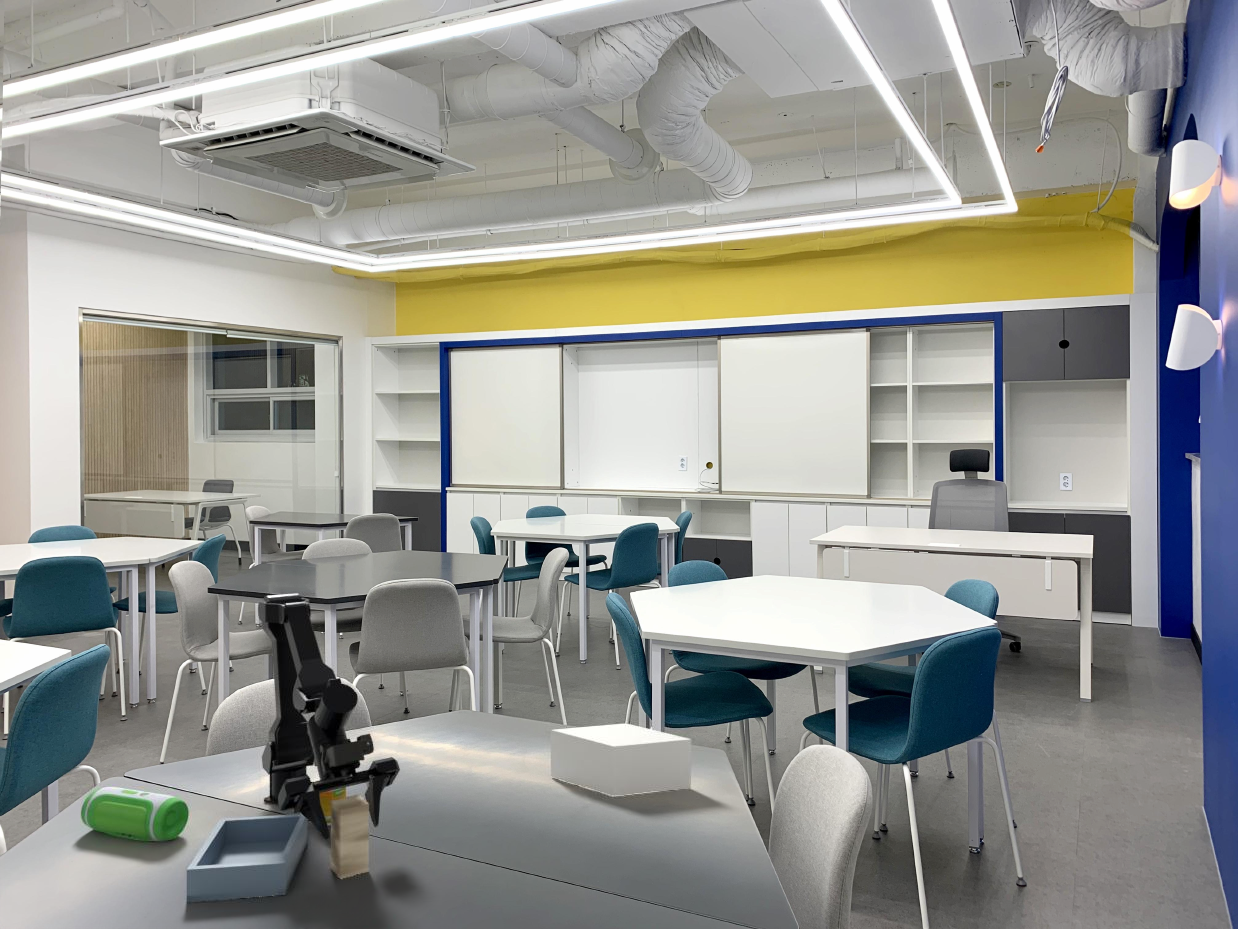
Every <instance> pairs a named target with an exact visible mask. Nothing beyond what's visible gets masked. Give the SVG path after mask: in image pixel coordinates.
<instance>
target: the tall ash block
mask: <svg viewBox="0 0 1238 929" xmlns="http://www.w3.org/2000/svg"><path fill="white" fill-rule="evenodd" d="M369 865H370V812H369V803H368V802H367V801H366V799H364V797H362V796H361V794H355V795H349V796H346V798H341V799H337V800H333V801H331V826H330V869H331V870H332V872H333V873H334V872H335V873H336V874H337V875H336V874H335V873H334V874H335V875H336V876H337V878H340V879H341V880H344V879H343V878H345V879H347V878H346V877H348V878H351V877H355V876H357V875H356V874H358V875H362V874H364V873H369V871H370V866H369ZM361 873H362V874H361ZM354 875H355V876H354ZM350 876H351V877H350ZM340 879H339V880H340Z"/></svg>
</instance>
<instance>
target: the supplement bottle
mask: <svg viewBox="0 0 1238 929" xmlns="http://www.w3.org/2000/svg"><path fill="white" fill-rule="evenodd" d="M319 780H320V778H318V779H317V780H316V781H319ZM319 795H320V803H321V807H322V810H323V813H324V816H325V819H326V822H327V825H328V827H331V801H333V800H337V799H341V798H346V797H347V787H344V788H340V789H335V790H331V791H327V792H322V793H319Z"/></svg>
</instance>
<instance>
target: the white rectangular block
mask: <svg viewBox="0 0 1238 929" xmlns="http://www.w3.org/2000/svg"><path fill="white" fill-rule="evenodd" d="M551 776H552V777H555V778H557V779H561V780H564V781H566V782H570V783H574V784H577V785H581V786H583V787H588V788H591V789H594V790H597V791H600V792H604V793H607V794H610V795H626V794H634V793H643V792H651V791H665V790H675V789H685V790H690V789H689V788H691V787H692V786H691V785H692V780H691V779H692V739H691V738H688V737H684V736H680V735H675V734H673V733H672V734H671V733H667V732H663V731H658V730H655V729H652V728H651V729H650V728H646V727H642V726H639V725H635V724H630V723H617V724H616V723H615V724H604V725H593V726H581V727H572V728H571V727H569V728H559V729H558V728H557V729H551V730H550V777H551Z"/></svg>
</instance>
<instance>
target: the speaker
mask: <svg viewBox="0 0 1238 929" xmlns="http://www.w3.org/2000/svg"><path fill="white" fill-rule="evenodd" d="M189 811H190V810H189V807H188V805H187V803H186V802H185V801H184V800H183V799H180V798H178V797H176V796H174V795H169V794H163V793H158V792H157V793H156V792H151V791H143V790H137V789H131V788H124V787H117V786H106V787H100V788H97V789H95V790H93V791H91V792H90V793H89V795H88V796H87V797H86V798H85V800H84V801H83V804H82V806H81V810H80V818H81V821H82V823H83V824H84V825H85V826H87V827H88V828H90V829H92V830H94V831H97V832H101V833H104V834H106V835H109V836H113V837H118V838H125V839H131V840H135V841H142V842H165V841H170V840H174V839H176V838H177V837H179V835H181V833H182V832H183V831H184V830H185V827H186V826H187V823H188V820H189Z"/></svg>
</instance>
